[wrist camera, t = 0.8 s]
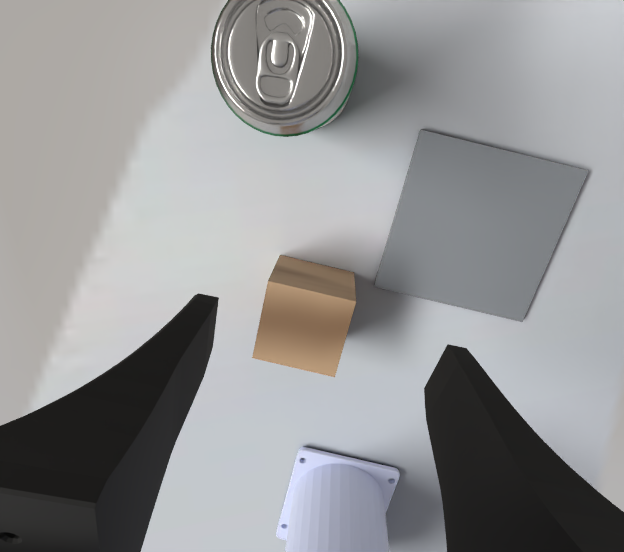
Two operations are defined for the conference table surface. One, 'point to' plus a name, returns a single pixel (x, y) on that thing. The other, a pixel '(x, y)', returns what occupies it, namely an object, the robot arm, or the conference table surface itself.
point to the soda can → (285, 62)
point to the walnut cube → (305, 316)
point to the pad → (476, 225)
